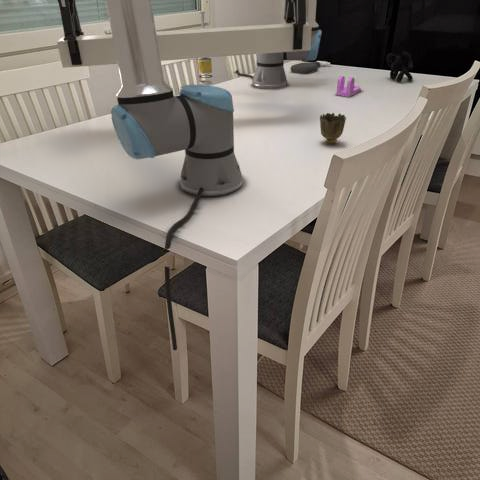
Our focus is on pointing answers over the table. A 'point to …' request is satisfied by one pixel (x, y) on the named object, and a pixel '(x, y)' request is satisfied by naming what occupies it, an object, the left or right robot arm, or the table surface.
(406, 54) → the squiggle
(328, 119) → the cup
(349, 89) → the bracket
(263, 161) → the table surface
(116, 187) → the table surface
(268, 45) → the slab
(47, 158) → the table surface
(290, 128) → the table surface
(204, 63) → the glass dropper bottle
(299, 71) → the frying pan
